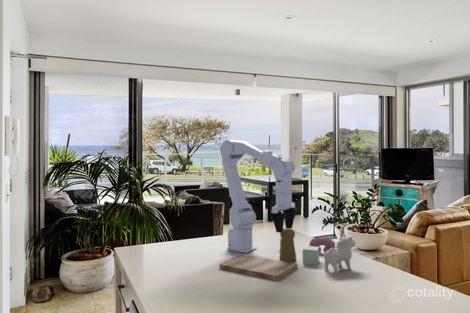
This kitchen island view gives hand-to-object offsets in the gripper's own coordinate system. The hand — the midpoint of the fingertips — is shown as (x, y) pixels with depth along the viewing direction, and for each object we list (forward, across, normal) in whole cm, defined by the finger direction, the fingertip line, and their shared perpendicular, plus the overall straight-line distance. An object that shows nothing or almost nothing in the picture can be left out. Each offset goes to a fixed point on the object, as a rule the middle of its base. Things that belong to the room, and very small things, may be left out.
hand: (284, 230), depth 135 cm
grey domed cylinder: (+10, +11, +5) cm, 16 cm away
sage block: (+11, +2, -9) cm, 14 cm away
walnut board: (+10, -14, +3) cm, 18 cm away
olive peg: (+11, 0, -1) cm, 11 cm away
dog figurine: (+11, 0, -20) cm, 23 cm away
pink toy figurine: (+11, +14, -8) cm, 20 cm away
